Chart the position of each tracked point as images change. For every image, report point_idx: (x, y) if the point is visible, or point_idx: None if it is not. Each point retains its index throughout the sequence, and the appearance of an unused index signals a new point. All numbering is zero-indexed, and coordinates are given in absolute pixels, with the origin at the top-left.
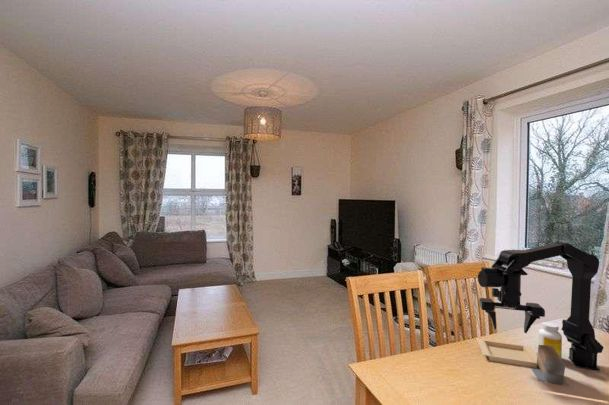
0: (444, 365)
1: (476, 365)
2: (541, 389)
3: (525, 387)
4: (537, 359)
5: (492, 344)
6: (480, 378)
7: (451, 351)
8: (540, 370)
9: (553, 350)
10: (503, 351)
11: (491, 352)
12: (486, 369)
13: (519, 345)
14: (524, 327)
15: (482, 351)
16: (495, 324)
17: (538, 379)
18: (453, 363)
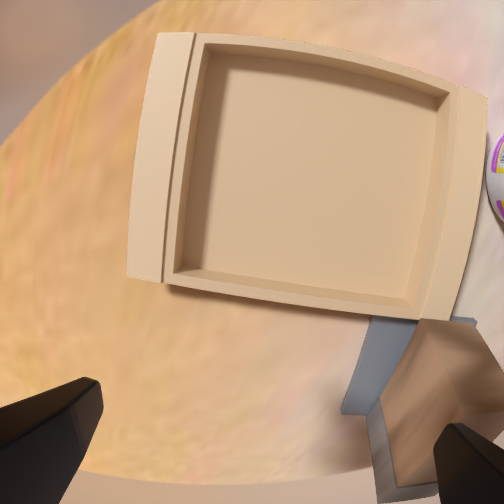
0: (7, 324)
1: (103, 314)
2: (317, 444)
3: (260, 443)
4: (425, 341)
5: (262, 54)
6: (108, 404)
7: (25, 190)
8: (409, 331)
9: (491, 437)
10: (308, 126)
11: (217, 159)
12: (139, 345)
13: (433, 83)
14: (467, 473)
15: (129, 233)
16: (64, 476)
17: (344, 408)
18: (27, 306)
